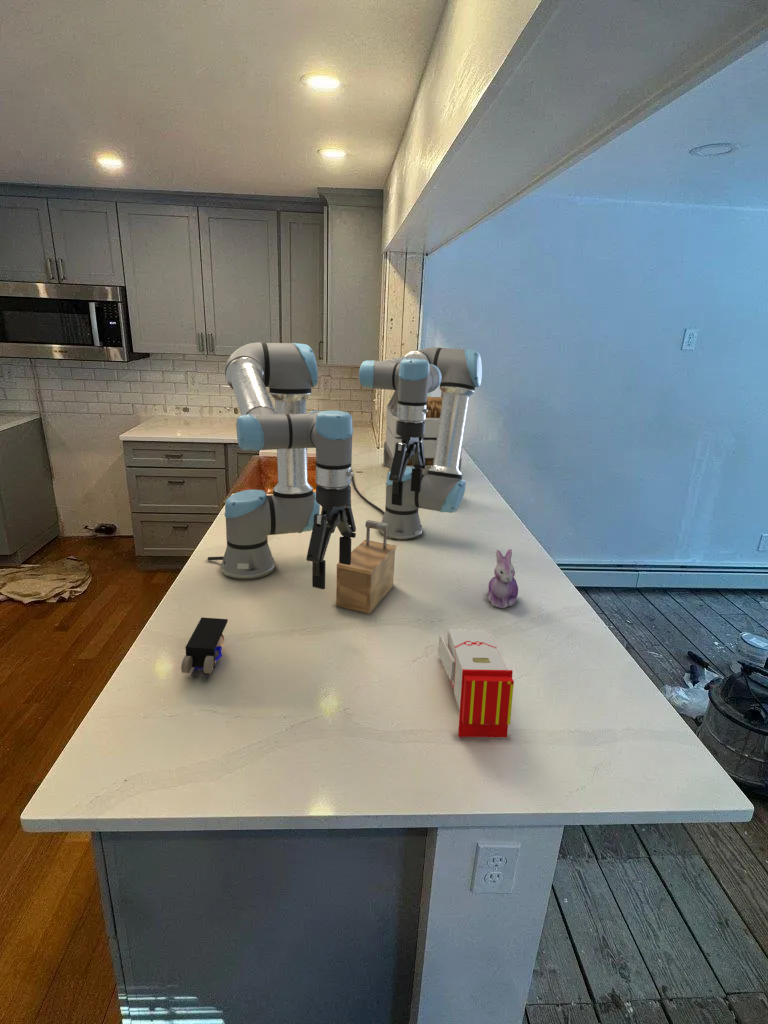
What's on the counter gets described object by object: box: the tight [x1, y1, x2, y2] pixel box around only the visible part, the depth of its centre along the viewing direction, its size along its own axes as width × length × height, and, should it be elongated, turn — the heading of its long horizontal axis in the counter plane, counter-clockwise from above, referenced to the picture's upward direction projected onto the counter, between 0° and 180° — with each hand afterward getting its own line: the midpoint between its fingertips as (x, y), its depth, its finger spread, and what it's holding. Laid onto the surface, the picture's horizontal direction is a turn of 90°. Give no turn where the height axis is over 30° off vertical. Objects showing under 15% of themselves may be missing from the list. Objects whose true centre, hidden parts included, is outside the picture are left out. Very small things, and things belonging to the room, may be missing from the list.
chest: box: [335, 550, 396, 615], centre depth 154 cm, size 18×10×11 cm, turn 159°
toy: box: [437, 628, 515, 738], centre depth 117 cm, size 12×13×30 cm
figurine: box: [487, 548, 519, 609], centre depth 154 cm, size 9×10×15 cm
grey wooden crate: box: [383, 390, 464, 473], centre depth 268 cm, size 34×33×41 cm
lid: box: [336, 519, 397, 575], centre depth 151 cm, size 18×10×8 cm, turn 159°
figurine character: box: [180, 616, 229, 679], centre depth 123 cm, size 7×8×15 cm
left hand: (332, 575), depth 128 cm, fingers open, 13 cm apart
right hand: (406, 497), depth 155 cm, fingers open, 13 cm apart
